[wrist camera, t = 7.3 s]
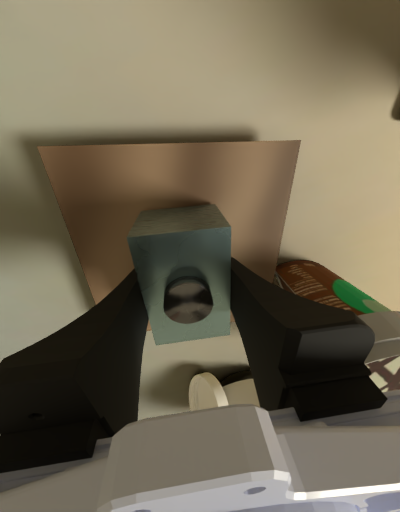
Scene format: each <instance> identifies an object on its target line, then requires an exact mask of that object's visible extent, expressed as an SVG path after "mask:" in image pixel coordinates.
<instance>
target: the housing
mask: <svg viewBox="0 0 400 512" xmlns="http://www.w3.org/2000/svg"><path fill="white" fill-rule="evenodd" d="M126 238H127V242H128V245H129V249H130V253H131V256H132V260H133V263H134V267H135V271H136V274H137V278H138V282H139V285H140V289H141V293H142V296H143V300H144V304H145V307H146V311H147V315H148V318H149V322H150V326H151V329H152V333H153V337H154V340H155V344H156V345H162V344H169V343H176V342H183V341H190V340H197V339H204V338H211V337H218V336H225V335H230V295H231V226H230V224H229V223H228V221H227V220H226V219H225V217H224V216H223V214H222V213H221V212H220V210H219V209H218V207H217V206H216V205H215V204H208V205H198V206H188V207H178V208H167V209H157V210H147V211H141V212H140V214H139V215H138V217H137V219H136V221H135V223H134V225H133V226H132V228H131V230H130V232H129V234H128V236H127V237H126Z"/></svg>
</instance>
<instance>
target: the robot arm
mask: <svg viewBox="0 0 400 512" xmlns="http://www.w3.org/2000/svg"><path fill="white" fill-rule="evenodd" d="M230 310H231V312H232V315H233V317H234V320H235V322H236V324H237V327H238V329H239V332H240V335H241V338H242V341H243V344H244V348H245V351H246V355H247V358H248V362H249V366H250V369H251V373H252V377H253V381H254V385H255V388H256V392H257V396H258V400H259V405H260V407H258V406H256V405H253V404H232V405H226V406H220V407H214V408H208V409H202V410H195V411H189V412H183V413H177V414H171V415H164V416H158V417H152V418H146V419H142V420H139V421H137V420H138V402H139V387H140V374H141V363H142V353H143V346H144V341H145V336H146V331H147V326H148V321H149V318H148V315H147V311H146V307H145V304H144V300H143V296H142V293H141V289H140V285H139V282H138V278H137V274H136V271H135V268H134V269H133V270H132V271H131V272H130V273H129V274H128V275H127V276H126V278H125V279H124V280H123V281H122V282H121V283H120V284H119V285H118V286H117V287H116V288H115V289H114V290H112V291H111V292H110V293H109V294H108V295H107V296H106V297H105V298H104V299H103V300H101V301H100V302H99V303H98V304H97V305H95V306H94V307H93V308H91V309H90V310H89V311H87V312H86V313H85V314H83V315H82V316H80V317H79V318H77V319H76V320H74V321H73V322H71V323H70V324H68V325H67V326H65V327H63V328H62V329H60V330H58V331H57V332H55V333H53V334H51V335H50V336H48V337H46V338H44V339H42V340H40V341H39V342H37V343H35V344H33V345H31V346H29V347H27V348H25V349H23V350H21V351H19V352H17V353H15V354H12V355H10V356H8V357H6V358H4V359H3V360H2V361H1V363H0V434H1V436H0V512H400V390H394V391H387V392H382V391H381V390H380V389H379V388H378V387H377V385H376V384H375V383H374V382H373V381H372V380H371V378H370V377H369V376H370V375H371V374H372V373H371V371H370V369H369V368H368V367H367V366H366V365H365V364H364V361H365V360H366V358H367V356H368V354H369V353H370V351H371V349H372V347H373V345H374V342H375V333H374V332H373V330H372V329H371V328H370V327H369V326H368V325H367V324H366V323H365V322H364V321H363V320H362V319H360V318H359V317H358V316H357V315H356V314H355V313H354V312H353V311H349V310H345V309H341V308H337V307H333V306H329V305H325V304H322V303H319V302H316V301H312V300H309V299H307V298H304V297H301V296H299V295H296V294H294V293H291V292H289V291H286V290H284V289H282V288H280V287H278V286H276V285H274V284H272V283H270V282H268V281H267V280H265V279H263V278H262V277H260V276H258V275H257V274H255V273H254V272H252V271H251V270H250V269H248V268H247V267H245V266H244V265H243V264H241V263H240V262H239V261H237V260H236V259H235V258H233V257H231V295H230Z"/></svg>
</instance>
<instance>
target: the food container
mask: <svg viewBox="0 0 400 512" xmlns="http://www.w3.org/2000/svg"><path fill="white" fill-rule="evenodd" d="M275 275H276V277H277V280H278V282H279V285H280V287H281V288H282V289H284V290H286V291H289V292H291V293H294V294H296V295H299V296H301V297H304V298H307V299H309V300H312V301H316V302H319V303H322V304H325V305H329V306H333V307H337V308H341V309H345V310H349V311H353V312H354V313H355V314H356V315H357V316H358V317H359V318H360V319H362V320H363V321H364V322H365V323H366V324H367V325H368V326H369V327H370V328H371V329H372V330H373V332H374V333H375V342H374V345H373V347H372V349H371V351H370V353H369V354H368V356H367V358H366V360H365V361H364V364H365V365H366V366H367V367H368V368H369V369H370V371H371V373H372V374H371V375H370V376H369V377H370V378H371V380H372V381H373V382H374V383H375V384H376V385H377V387H378V388H379V389H380V390H381V391H382V392H387V391H394V390H400V312H398V311H391V310H390V309H388V308H386V307H385V306H383V305H382V304H380V303H379V302H377V301H376V300H374V299H373V298H371V297H370V296H368V295H367V294H365V293H364V292H362V291H361V290H359V289H357V288H356V287H354V286H353V285H351V284H350V283H348V282H347V281H345V280H344V279H342V278H341V277H339V276H338V275H336V274H335V273H333V272H332V271H330V270H328V269H327V268H325V267H324V266H322V265H320V264H319V263H316V262H313V261H307V260H296V261H290V262H286V263H283V264H280V265H277V266H276V270H275Z"/></svg>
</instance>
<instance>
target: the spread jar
mask: <svg viewBox="0 0 400 512" xmlns="http://www.w3.org/2000/svg"><path fill="white" fill-rule="evenodd" d="M232 404H253V405H256V406H258V407H260V405H259V400H258V396H257V392H256V388H255V385H254V381H253V377H252V373H251V371H242V372H238V373H235V374H232V375H230V376H228V377H226V378H225V379H224V380H223V381H222V382H221V383H219V381H218V380H217V379H216V377H215V376H213V375H212V374H211V373H208V372H205V373H201V374H198V375H195V376H194V377H193V378H192V380H191V382H190V386H189V406H190V411H195V410H202V409H208V408H214V407H220V406H226V405H232Z"/></svg>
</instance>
